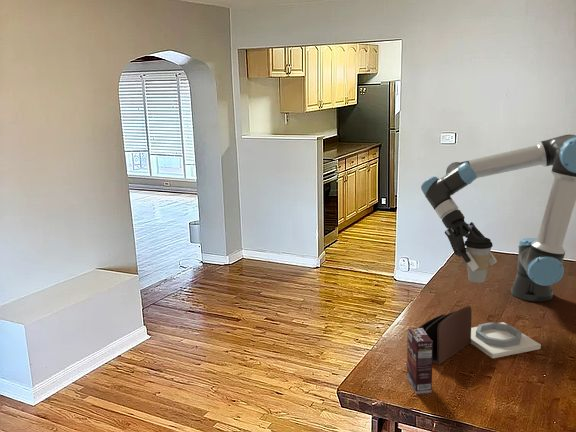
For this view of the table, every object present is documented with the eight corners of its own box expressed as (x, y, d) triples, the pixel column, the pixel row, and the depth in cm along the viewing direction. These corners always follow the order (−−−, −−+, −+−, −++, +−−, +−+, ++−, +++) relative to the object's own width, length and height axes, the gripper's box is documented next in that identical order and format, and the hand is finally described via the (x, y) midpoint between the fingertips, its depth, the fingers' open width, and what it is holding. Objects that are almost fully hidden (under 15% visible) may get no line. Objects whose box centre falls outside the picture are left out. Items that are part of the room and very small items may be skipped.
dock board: (503, 326, 185) (503, 316, 185) (540, 348, 168) (541, 338, 168) (458, 334, 181) (458, 324, 180) (492, 358, 164) (492, 348, 163)
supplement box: (405, 378, 154) (406, 328, 151) (422, 377, 155) (423, 327, 151) (415, 394, 146) (416, 342, 142) (432, 393, 146) (434, 340, 143)
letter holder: (471, 343, 174) (473, 303, 171) (438, 365, 161) (440, 323, 158) (444, 334, 181) (445, 295, 178) (411, 355, 168) (411, 313, 165)
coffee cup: (492, 285, 183) (495, 243, 180) (464, 283, 185) (466, 242, 182) (488, 275, 192) (490, 236, 189) (461, 274, 194) (463, 235, 191)
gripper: (463, 215, 203) (497, 265, 194) (423, 225, 191) (457, 278, 182) (475, 204, 197) (511, 254, 188) (435, 213, 185) (471, 267, 176)
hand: (485, 266), depth 185 cm, fingers closed on coffee cup, 9 cm apart
